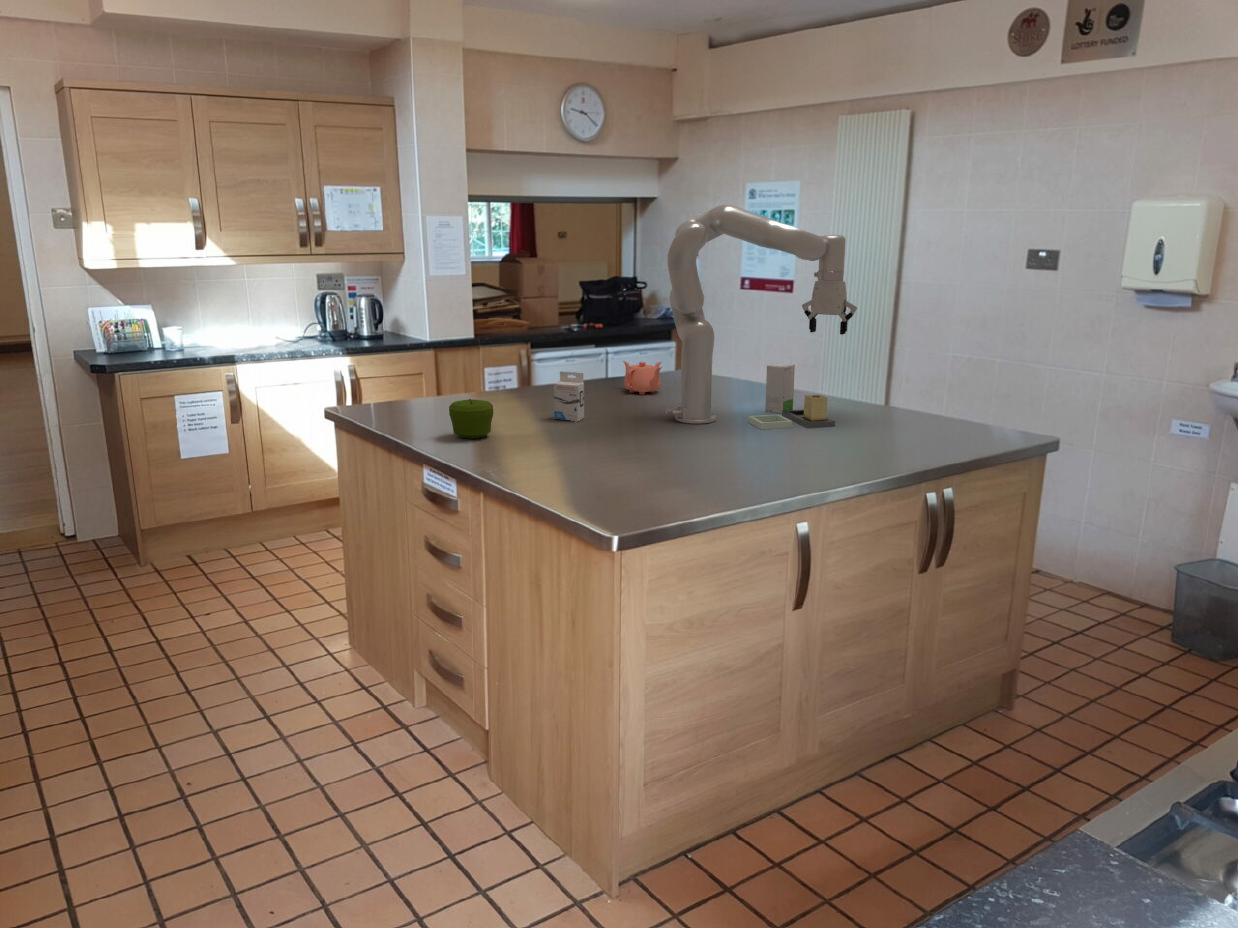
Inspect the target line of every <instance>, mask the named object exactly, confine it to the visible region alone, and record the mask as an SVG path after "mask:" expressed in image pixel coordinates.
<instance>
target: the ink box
mask: <svg viewBox="0 0 1238 928" xmlns="http://www.w3.org/2000/svg"><path fill="white" fill-rule="evenodd" d="M570 376H572V377H570ZM553 400H554V401H553V411H554V412H553V417H554V418H553V420H554V419H561V420H560V421H563V420H571V421H570V422H573V421H579V422H580V420H581V421H582V419H583V418H584V419H585V382H584V372H577V371H559V381H556V382H553ZM584 419H583V420H584Z"/></svg>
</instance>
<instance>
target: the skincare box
mask: <svg viewBox="0 0 1238 928" xmlns="http://www.w3.org/2000/svg"><path fill="white" fill-rule="evenodd" d="M795 365H796V364H795V363H783V362H781V363H780V362H777V363H771V364H766V382H765V383H766V385H765V407H764V408H765V409H764V410H765V411H764V413H774V414H779V415H782V411H786V410H794V393H795V390H794V389H795V368H796V366H795Z"/></svg>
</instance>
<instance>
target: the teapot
mask: <svg viewBox="0 0 1238 928" xmlns="http://www.w3.org/2000/svg"><path fill="white" fill-rule="evenodd" d="M622 362H623V363H624V365H625V374H624V379H623V380H624V381H623V386H624V388H625V389H626V390H629V391H628V393H631V394H633V393H636V392H639V394H638V395H640V396H642V395H643V396H645V395H646V393H647V392H649V393H651V394H655V393H656V391H658V390H659V389H660V388H661V384H662V383H661V376H660V371H661V369H662V368H663V367H661V366H660V365H661V364H662V361H658V362H656V364H655V365H651V364H647V362H646V361H639V362H638V364H633V365H630V364H629V362H628V361H625V360H622Z"/></svg>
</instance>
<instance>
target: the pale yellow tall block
mask: <svg viewBox="0 0 1238 928" xmlns="http://www.w3.org/2000/svg"><path fill="white" fill-rule="evenodd" d="M803 402H804V403H803V409H804V419H805V420H808V421H810V422H812V421H826V417H827V415H828V414H827V411H828V397H826V396H825V395H822V394H808V395H807V394H806V395H804V401H803Z"/></svg>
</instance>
